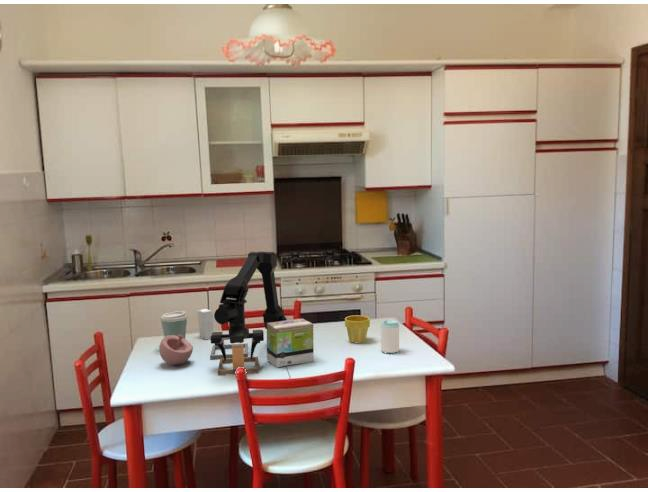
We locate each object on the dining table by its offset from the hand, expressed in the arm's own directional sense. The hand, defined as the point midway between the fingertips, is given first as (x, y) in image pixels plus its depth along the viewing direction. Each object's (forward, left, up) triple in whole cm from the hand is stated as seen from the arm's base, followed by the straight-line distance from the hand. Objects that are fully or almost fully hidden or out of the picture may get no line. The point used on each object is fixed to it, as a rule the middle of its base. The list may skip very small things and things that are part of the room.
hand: (238, 359), depth 209 cm
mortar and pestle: (+23, -8, -3) cm, 25 cm away
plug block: (0, 0, -3) cm, 3 cm away
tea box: (-19, -4, -3) cm, 20 cm away
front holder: (0, 0, -3) cm, 3 cm away
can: (-58, -9, -3) cm, 59 cm away
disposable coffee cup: (+26, -27, -3) cm, 38 cm away
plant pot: (-48, -25, -3) cm, 54 cm away
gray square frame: (+4, -18, -3) cm, 19 cm away
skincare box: (+15, -42, -3) cm, 45 cm away
